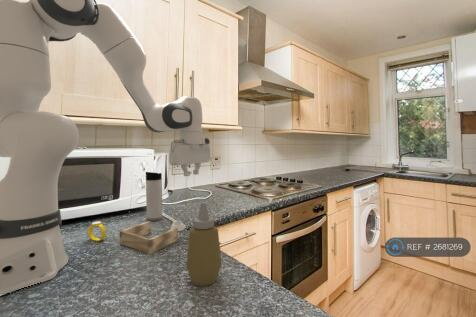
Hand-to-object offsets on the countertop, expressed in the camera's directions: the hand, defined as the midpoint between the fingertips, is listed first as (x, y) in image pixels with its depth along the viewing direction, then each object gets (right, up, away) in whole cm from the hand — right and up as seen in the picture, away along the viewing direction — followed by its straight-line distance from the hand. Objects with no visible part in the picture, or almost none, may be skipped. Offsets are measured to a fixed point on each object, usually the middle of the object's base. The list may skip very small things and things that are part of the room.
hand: (191, 175), depth 91 cm
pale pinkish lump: (-4, -20, -6) cm, 21 cm away
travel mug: (-17, -19, +6) cm, 26 cm away
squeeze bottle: (+10, -22, -37) cm, 44 cm away
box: (-10, -20, -16) cm, 28 cm away
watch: (-28, -20, -15) cm, 38 cm away
